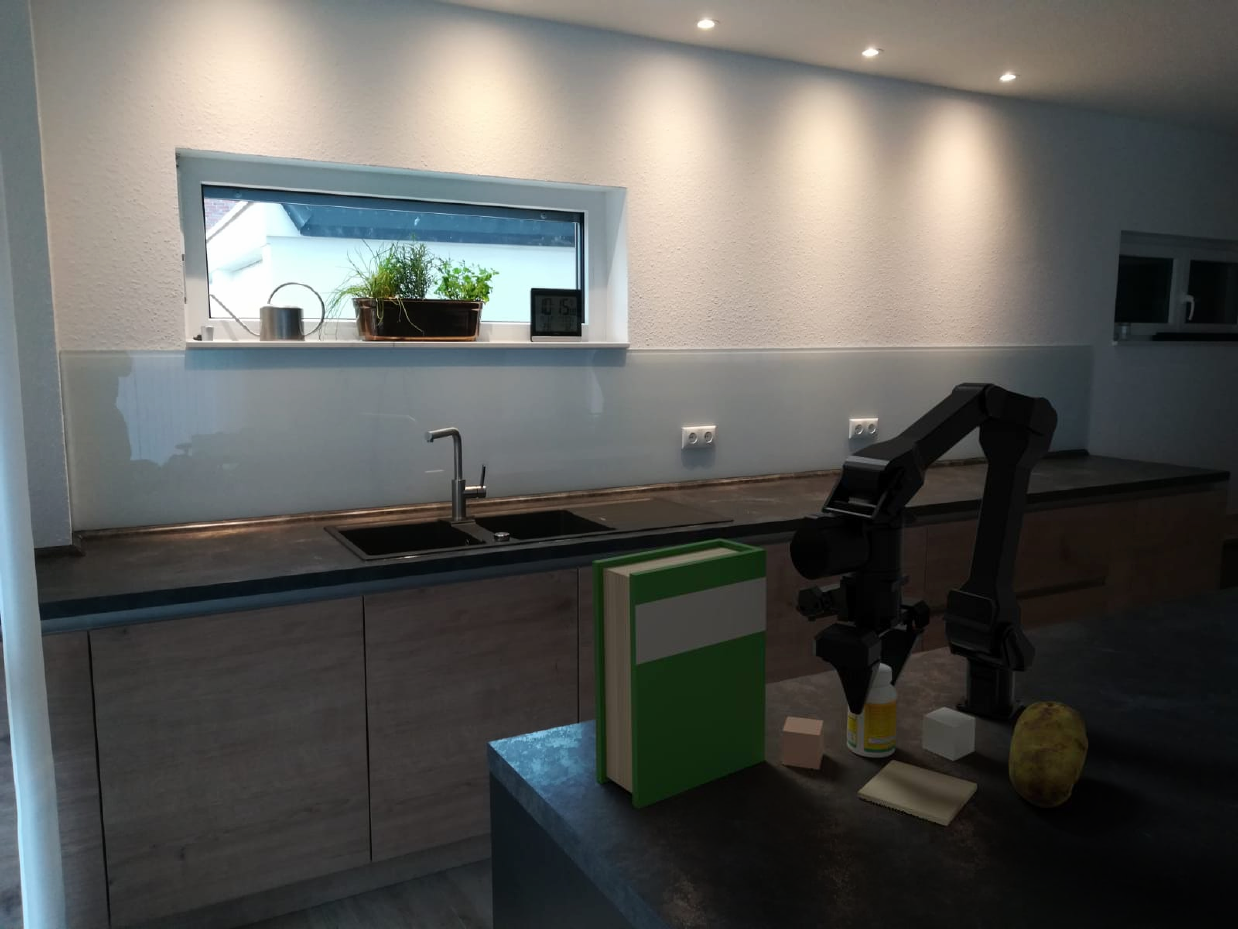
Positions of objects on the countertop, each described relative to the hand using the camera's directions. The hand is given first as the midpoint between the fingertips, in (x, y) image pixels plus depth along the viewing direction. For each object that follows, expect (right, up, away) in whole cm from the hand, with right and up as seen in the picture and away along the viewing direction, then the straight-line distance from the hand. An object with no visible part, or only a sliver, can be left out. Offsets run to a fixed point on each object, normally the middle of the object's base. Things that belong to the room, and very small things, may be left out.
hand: (872, 700), depth 101 cm
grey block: (+9, -6, 0) cm, 10 cm away
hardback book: (-22, -7, -4) cm, 23 cm away
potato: (+15, -7, -9) cm, 19 cm away
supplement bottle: (0, -6, +1) cm, 6 cm away
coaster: (+2, -7, -10) cm, 12 cm away
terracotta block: (-8, -6, -2) cm, 10 cm away
